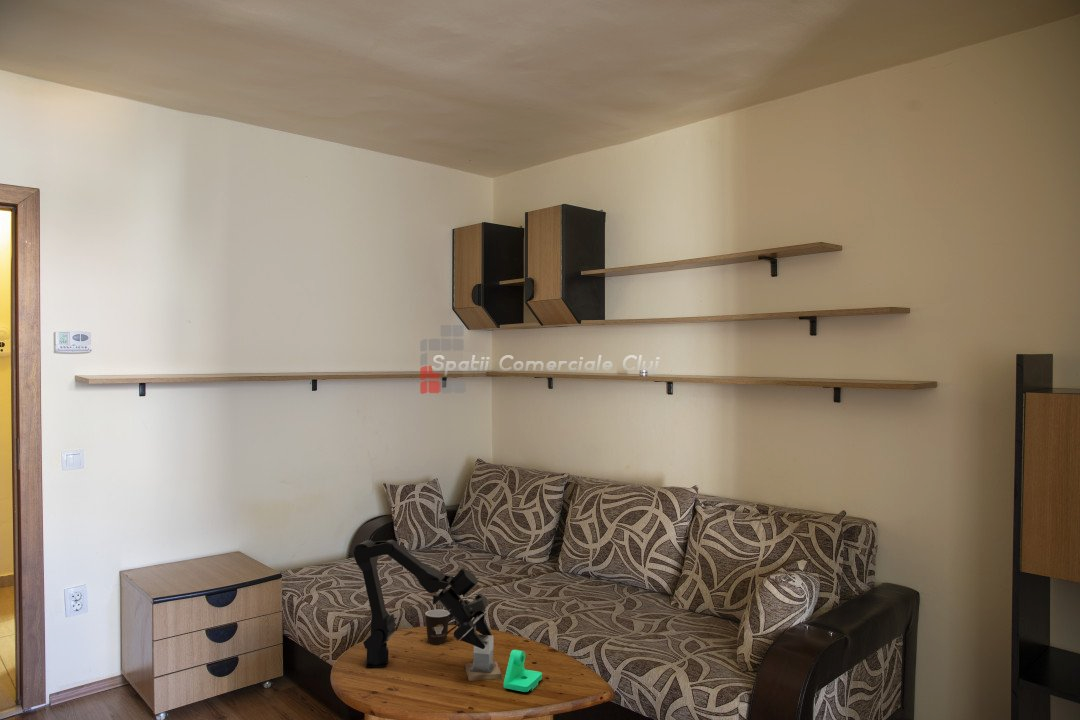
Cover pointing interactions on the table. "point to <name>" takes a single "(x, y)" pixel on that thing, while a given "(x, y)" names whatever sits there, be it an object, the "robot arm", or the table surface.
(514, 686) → the camera mount
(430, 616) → the coffee mug
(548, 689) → the table surface
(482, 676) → the stand
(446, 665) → the table surface
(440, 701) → the table surface
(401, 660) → the table surface
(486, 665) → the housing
